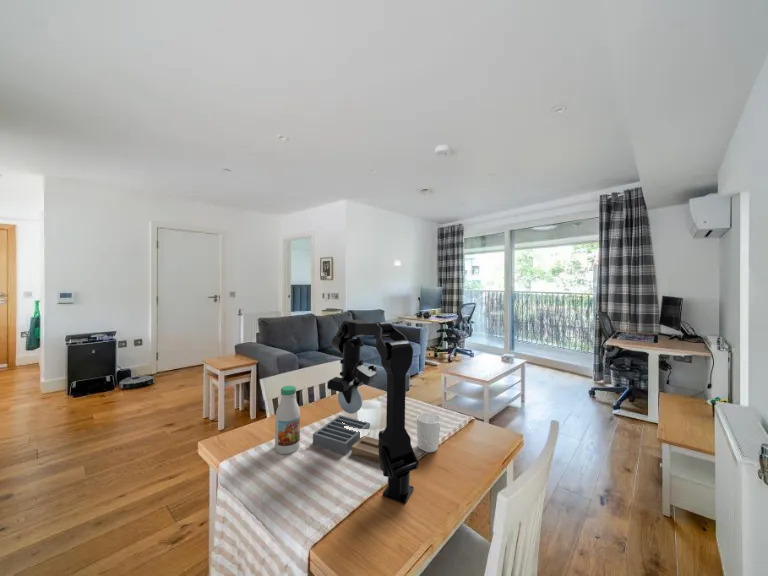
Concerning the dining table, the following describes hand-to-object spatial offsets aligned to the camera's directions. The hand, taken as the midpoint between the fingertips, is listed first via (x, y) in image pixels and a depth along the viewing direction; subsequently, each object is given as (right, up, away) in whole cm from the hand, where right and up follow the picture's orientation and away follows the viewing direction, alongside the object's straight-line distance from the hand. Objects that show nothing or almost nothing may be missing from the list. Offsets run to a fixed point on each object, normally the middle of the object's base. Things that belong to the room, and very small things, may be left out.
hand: (349, 402), depth 107 cm
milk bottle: (-20, -14, -4) cm, 24 cm away
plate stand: (+8, -14, -5) cm, 17 cm away
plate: (0, -3, 0) cm, 4 cm away
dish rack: (-3, -14, +3) cm, 14 cm away
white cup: (+26, -15, -1) cm, 30 cm away
